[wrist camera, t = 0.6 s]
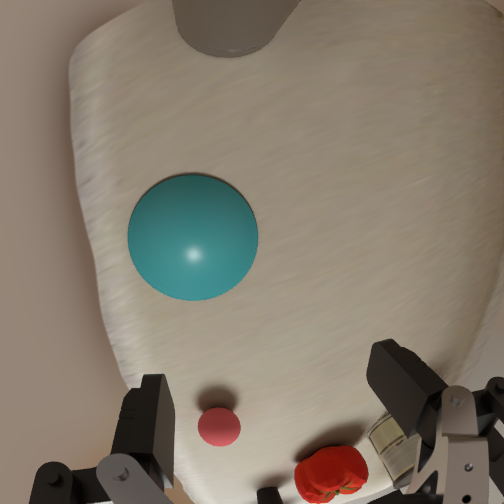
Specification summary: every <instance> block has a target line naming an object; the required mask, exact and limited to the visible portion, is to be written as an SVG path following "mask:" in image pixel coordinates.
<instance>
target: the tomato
mask: <svg viewBox="0 0 504 504" xmlns="http://www.w3.org/2000/svg"><path fill="white" fill-rule="evenodd" d="M368 475H369V473H368V467H367V464H366V462H365V460H364V458H363V457H362V455H361V454H360V453H359V451H358V450H357V449H356V448H354V447H352V446H347V445H342V446H337V447H332V446H330V447H325V448H322V449H320V450H319V451H317V452H316V453H315V454H314V455H312V456H311V457H308V458H306V459H304V460H303V461H301V462H300V463H299V464H298V465H297V466H296V468H295V474H294V480H295V484H296V487H297V490H298V492H299V494H300V495H301V496H302V498H303V499H304V500H306V501H307V502H309V503H317V504H320V503H328V502H329V501H331V500H332V499H333V498H334V497H335V495H338V494H339V493H341V494H352V493H355V492H357V491H358V490H359V489H361V487H362V485H363V484H365V483H366V482H367V479H368Z"/></svg>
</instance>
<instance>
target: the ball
mask: <svg viewBox="0 0 504 504" xmlns="http://www.w3.org/2000/svg"><path fill="white" fill-rule="evenodd" d="M240 430H241V425H240V421H239V419H238V417H237V416H236V415H235V414H234V413H233V412H232V411H230V410H228V409H226V408H220V407H216V408H212V409H209V410H207V411H206V412H204V413H203V414H202V415H201V417H200V419H199V422H198V431H199V434H200V436H201V437H202V438H203V440H205V441H206V442H207V443H209V444H211V445H213V446H226V445H229V444H231V443H233V442H234V441H235V440H236V439H237V438H238V436H239V434H240Z"/></svg>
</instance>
